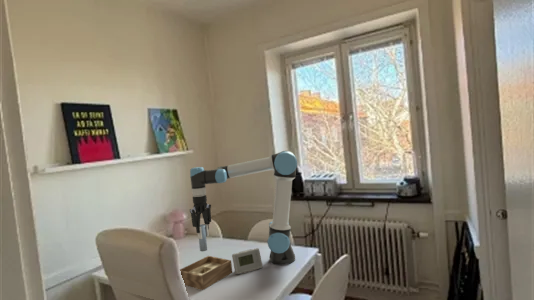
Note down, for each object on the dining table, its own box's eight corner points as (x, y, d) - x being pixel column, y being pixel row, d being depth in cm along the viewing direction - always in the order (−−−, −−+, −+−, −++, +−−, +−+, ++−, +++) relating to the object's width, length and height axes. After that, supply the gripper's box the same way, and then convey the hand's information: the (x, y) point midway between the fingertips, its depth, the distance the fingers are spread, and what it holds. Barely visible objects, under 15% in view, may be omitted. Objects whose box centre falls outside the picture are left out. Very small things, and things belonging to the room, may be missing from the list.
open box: (232, 272, 178) (231, 260, 178) (202, 290, 160) (200, 276, 160) (209, 267, 189) (208, 255, 188) (179, 283, 171) (177, 270, 171)
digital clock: (234, 275, 174) (232, 256, 173) (233, 269, 183) (231, 251, 182) (264, 270, 177) (262, 251, 176) (261, 264, 186) (259, 246, 185)
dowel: (208, 249, 179) (206, 224, 179) (203, 251, 176) (201, 226, 176) (203, 248, 182) (201, 223, 181) (198, 250, 179) (196, 225, 178)
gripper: (206, 192, 186) (210, 232, 187) (182, 198, 173) (186, 241, 174) (215, 192, 181) (219, 233, 182) (191, 198, 168) (195, 243, 169)
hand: (203, 237), depth 178 cm, fingers closed on dowel, 4 cm apart
